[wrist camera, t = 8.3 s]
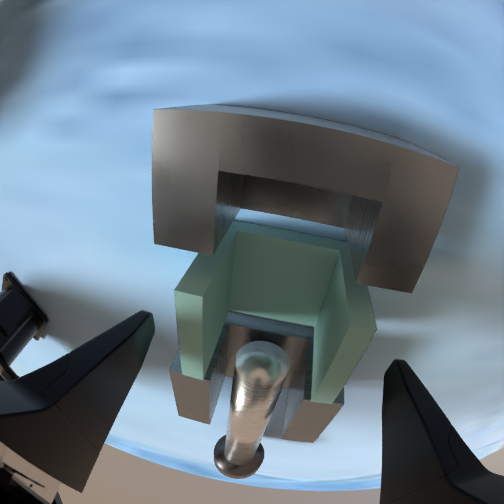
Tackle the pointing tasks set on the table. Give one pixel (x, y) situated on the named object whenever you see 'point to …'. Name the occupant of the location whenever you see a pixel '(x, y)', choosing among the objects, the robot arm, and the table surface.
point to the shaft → (251, 407)
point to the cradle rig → (296, 206)
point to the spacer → (277, 299)
